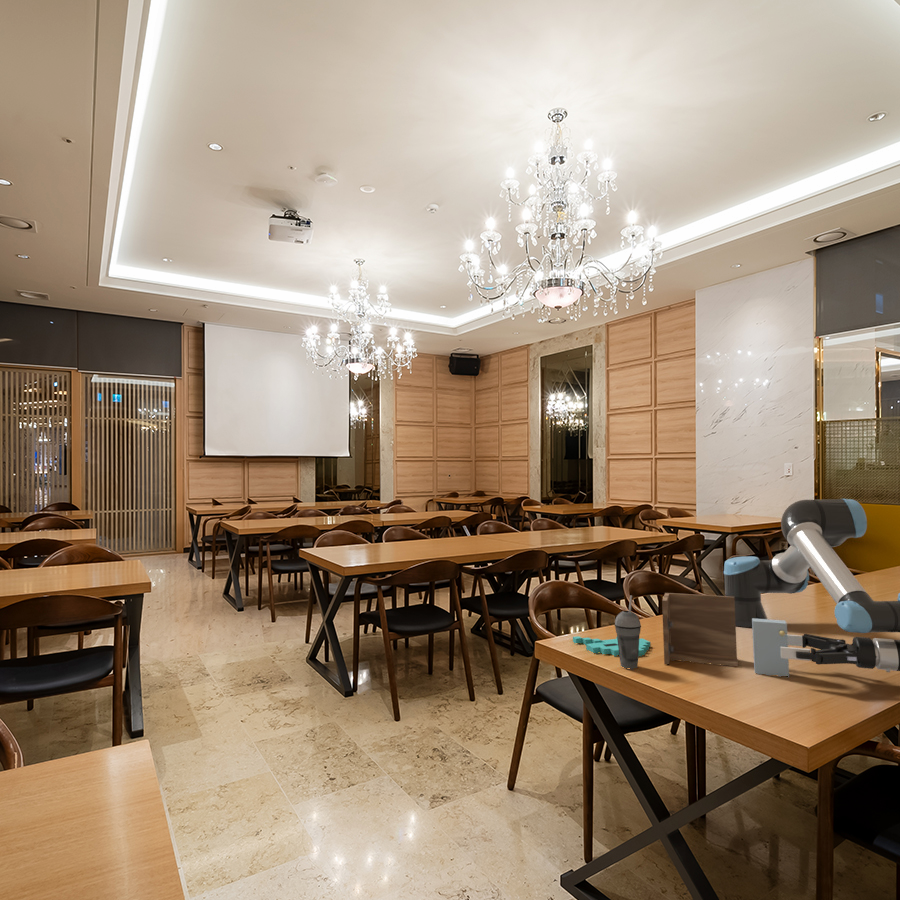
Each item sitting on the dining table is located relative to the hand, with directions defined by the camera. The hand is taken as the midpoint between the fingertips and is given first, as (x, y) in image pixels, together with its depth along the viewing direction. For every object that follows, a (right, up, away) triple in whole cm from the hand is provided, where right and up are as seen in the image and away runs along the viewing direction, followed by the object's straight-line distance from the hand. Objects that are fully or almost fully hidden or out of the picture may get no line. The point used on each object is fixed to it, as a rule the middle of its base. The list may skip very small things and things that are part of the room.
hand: (777, 645), depth 157 cm
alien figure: (-35, -11, +27) cm, 46 cm away
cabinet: (-16, -9, +12) cm, 22 cm away
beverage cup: (-37, -9, +8) cm, 39 cm away
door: (-1, -8, +1) cm, 8 cm away
